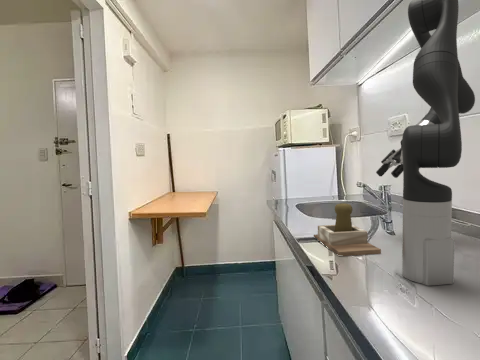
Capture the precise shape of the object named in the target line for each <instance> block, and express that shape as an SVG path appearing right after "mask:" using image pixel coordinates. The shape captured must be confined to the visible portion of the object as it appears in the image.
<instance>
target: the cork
mask: <svg viewBox="0 0 480 360" xmlns="http://www.w3.org/2000/svg"><path fill="white" fill-rule="evenodd" d="M334 212H335V214H336V216H335V224H334V225H335V231H334V232H345V231H353V229H352V225H353V223H352V216H351V215H352V213H353V207H352V205H351V204H350V203H345V202H343V203H337V204H335V206H334Z"/></svg>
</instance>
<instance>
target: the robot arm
mask: <svg viewBox="0 0 480 360" xmlns="http://www.w3.org/2000/svg"><path fill="white" fill-rule="evenodd" d="M407 17H408V18H407V19H408V22H409V25H410V29H411V31H412V33H413V36H414V37H415V39H416V41H417V43H418V46H419V47H420V49H419V51H418V53H417V54H416V56H415V59H414V61H413V67H412V85H413V86H412V87H413V88H414V90H415V92H416V93H417V94H418V96H420V98H421V100H423V101H424V102H425V103H426V104H427V105H428V106H429V107H430V108H429V110H428V112H427V113H426V114H425V115H424V117H422V119H420V121H418V122H417V123H416V124H415V125H409V126H407V127H406V128H405V129H404V131H403V133H402V138H401V140H400V148H399V149H397V150H395V149H391V150H390V152H389V153H388V154H387V155H386V156H385V157H384V158H383V159H382V160H381V164H382V165H381V166H380V167H379V168H378V169H377V170H376V172H375V173H376V174H377V175H378V176H379V177H383V176H384V175H385V174H386V172H387V171H388V170H389V169H390V168H392V167H393V166H395V168H394V169H393V170H392V171H391V172H390V175H391V176H392V177H393V178H395V179H398V177H400V176H401V174H402V173H403V174H402V177H403V178H402V179H403V180H402V181H403V182H402V187H403V188H402V234H401V236H402V237H401V238H402V240H401V241H402V243H401V245H402V247H401V248H402V251H401V253H402V256H401V258H402V259H401V260H402V261H401V263H402V264H401V275H402V276H403V277H404V278H406V279H407V280H409V281H412V282H415V283H419V284H423V285H425V286H440V285H451V284H453V285H454V283H455V282H454V279H455V278H454V277H455V239H454V238H453V237H452V213H453V211H452V210H453V209H452V208H453V191H452V188H451V187H450V186H448V185H445V184H443V183H439V182H436V181H434V180H431V179H429V178H427V177H425V176H424V175H423V174H422V173H421V172H420V169H445V168H454V167H456V166H457V165H458V164H459V162H460V160H461V158H462V151H463V150H462V149H463V148H462V147H463V144H462V143H463V142H462V140H463V139H462V132H461V129H462V128H461V121H460V114H467V113H469V112H470V111H471V110H472V109H473V108H474V106H475V103H476V95H475V93H474V91H473V89H472V87H471V86H470V84H469V83H468V82H467V80H466V78H465V77H464V75H463V71H462V67H461V63H460V61H459V57H458V55H459V54H458V45H457V44H458V40H457V34H458V22H459V0H411V1H409V4H408V8H407ZM431 31H434V32H433V33H432V34H431V33H430V32H431Z"/></svg>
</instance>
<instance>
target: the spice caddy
mask: <svg viewBox="0 0 480 360" xmlns="http://www.w3.org/2000/svg"><path fill="white" fill-rule="evenodd" d="M352 229H353V231H345V232H334V231H335V224H324V225H317V234H313V238H314V237H315V238H317V239H318V240H319V241H321V242H322V243H323V244H324V245H325V246H327V247H328V248H329V249H330V250H329V249H328V248H327V247H326V248H327V249H328V250H329V251H331V250H332V251H333V252H332V251H331V252H332V253H333V254H335V253H336V254H338V255H343V256H342V257H350V256H351V257H352V256H364V255H365V256H366V255H367V256H368V255H379V254H382V249H381V248H379V247H378V246H375V245H374V244H371V243H369V242H368V231H367V230H365V229H363V228H360V227H359V226H356V225H354V224H352ZM324 245H323V246H324ZM325 246H324V247H325ZM336 254H335V255H336ZM338 255H337V256H338Z"/></svg>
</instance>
